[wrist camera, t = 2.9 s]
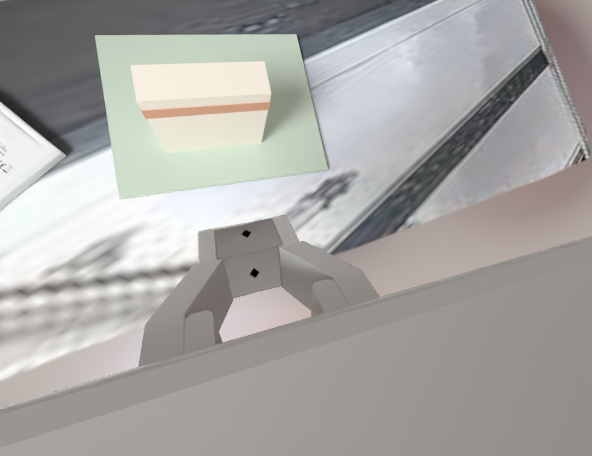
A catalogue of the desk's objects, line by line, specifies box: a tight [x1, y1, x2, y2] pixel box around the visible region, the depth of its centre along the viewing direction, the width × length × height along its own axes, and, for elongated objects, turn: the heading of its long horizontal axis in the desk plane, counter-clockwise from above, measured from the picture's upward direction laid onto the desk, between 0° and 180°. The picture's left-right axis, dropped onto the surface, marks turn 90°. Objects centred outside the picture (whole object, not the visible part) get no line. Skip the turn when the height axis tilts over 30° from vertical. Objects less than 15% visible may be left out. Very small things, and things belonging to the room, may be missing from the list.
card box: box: [130, 61, 271, 153], centre depth 22 cm, size 9×3×8 cm, turn 102°
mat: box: [95, 34, 328, 199], centre depth 27 cm, size 20×16×1 cm
